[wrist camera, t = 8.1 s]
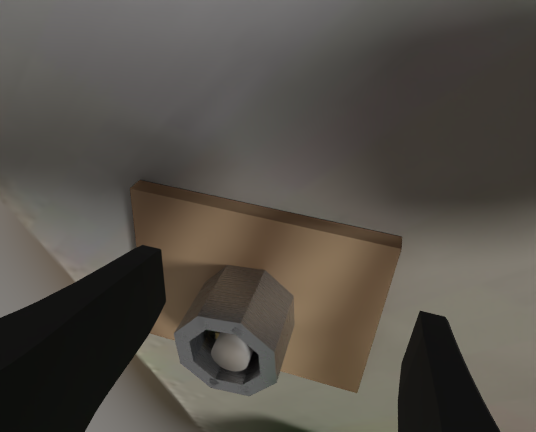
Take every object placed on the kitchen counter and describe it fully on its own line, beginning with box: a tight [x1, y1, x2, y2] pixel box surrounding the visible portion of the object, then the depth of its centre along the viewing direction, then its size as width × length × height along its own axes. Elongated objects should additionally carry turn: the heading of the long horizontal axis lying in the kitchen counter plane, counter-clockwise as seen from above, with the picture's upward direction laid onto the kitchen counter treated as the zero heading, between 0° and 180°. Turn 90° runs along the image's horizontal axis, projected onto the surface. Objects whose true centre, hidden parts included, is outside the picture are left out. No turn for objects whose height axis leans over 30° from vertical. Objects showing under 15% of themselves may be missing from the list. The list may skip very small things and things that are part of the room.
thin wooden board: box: [130, 180, 402, 393], centre depth 24 cm, size 14×11×4 cm
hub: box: [174, 265, 295, 396], centre depth 23 cm, size 5×5×4 cm
